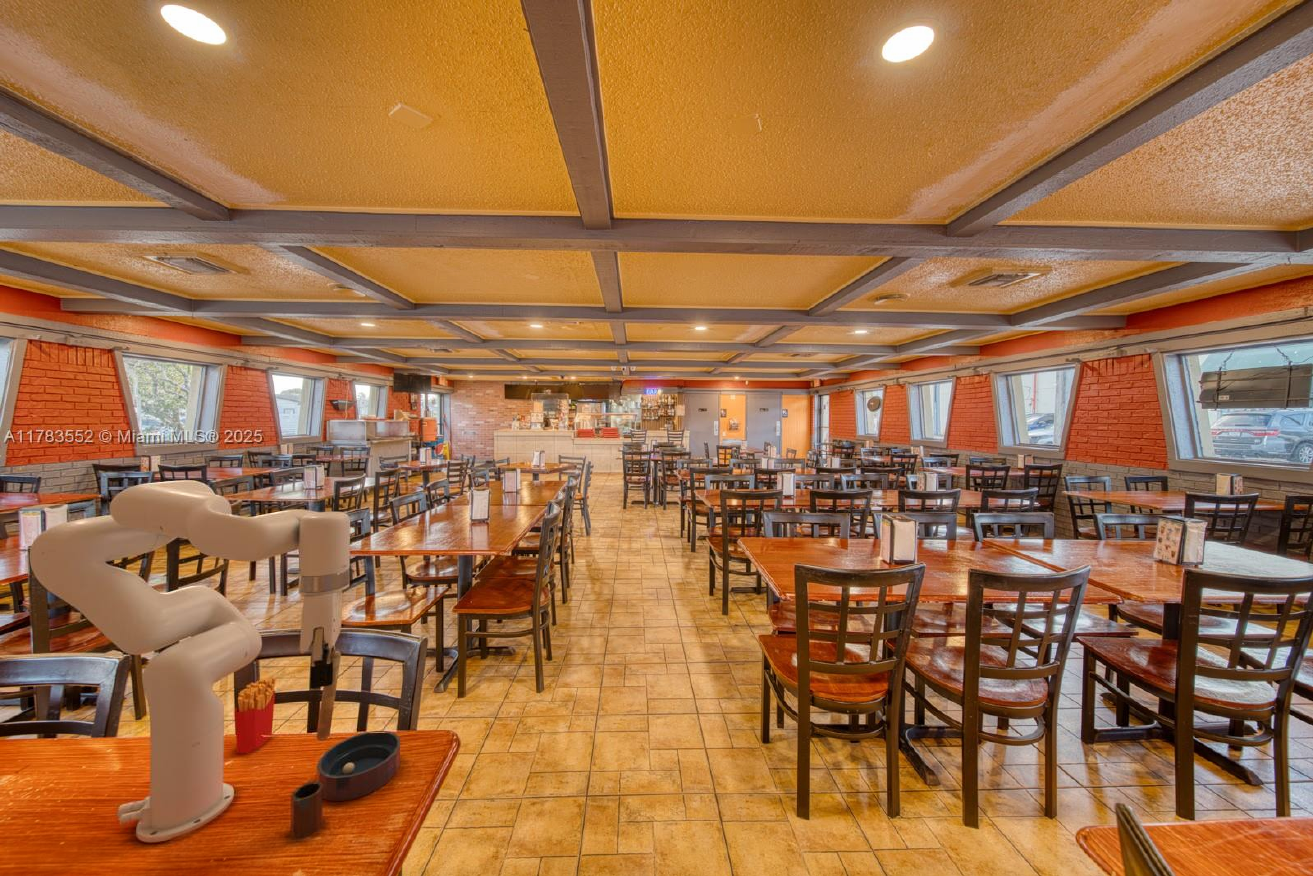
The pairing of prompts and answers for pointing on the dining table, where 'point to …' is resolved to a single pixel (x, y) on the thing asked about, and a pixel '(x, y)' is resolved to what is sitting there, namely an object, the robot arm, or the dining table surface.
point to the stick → (328, 700)
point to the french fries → (254, 715)
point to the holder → (306, 809)
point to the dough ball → (348, 768)
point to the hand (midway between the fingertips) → (323, 681)
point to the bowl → (359, 765)
